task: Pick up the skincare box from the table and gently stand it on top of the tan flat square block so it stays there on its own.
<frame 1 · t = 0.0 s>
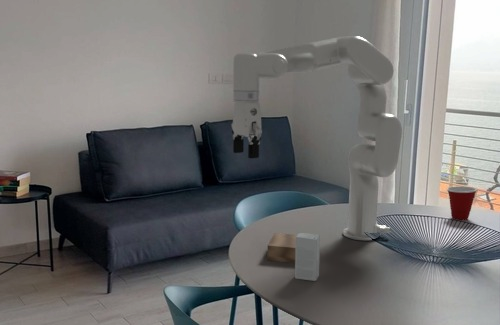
hand: (245, 155, 160), 31 cm above the table, tool pointing down, fingers open, 9 cm apart
tan flat square block: (290, 256, 167), on the table
skincare box: (306, 278, 150), on the table
plastic cup: (459, 218, 207), on the table
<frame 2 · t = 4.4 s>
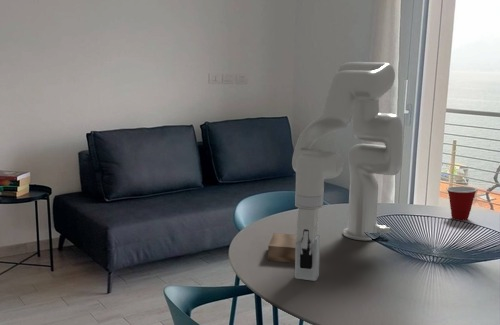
hand: (307, 263, 149), 4 cm above the table, tool pointing down, fingers closed on skincare box, 4 cm apart
skincare box: (306, 277, 150), on the table, touching gripper
everything else where it was.
when the fingers open (9 cm above the table, at t = 11.9 s): skincare box stays where it is, resting on tan flat square block.
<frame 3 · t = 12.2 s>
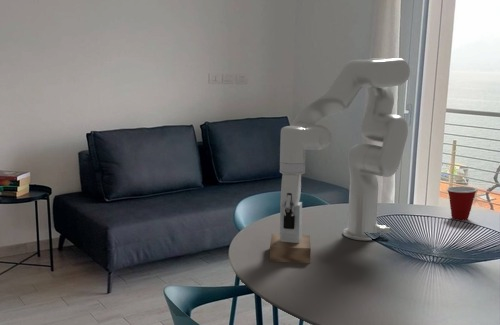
hand: (290, 224, 165), 10 cm above the table, tool pointing down, fingers open, 7 cm apart
tan flat square block: (290, 256, 167), on the table, touching skincare box
skincare box: (290, 241, 166), point 4 cm above the table, touching tan flat square block
everything else where it was.
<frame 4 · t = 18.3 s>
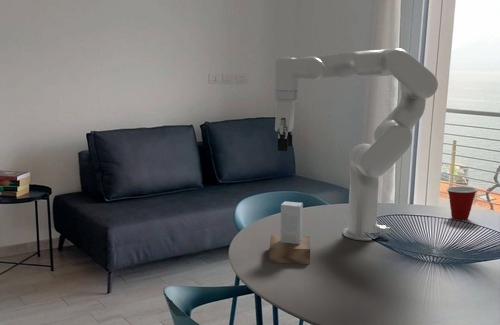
hand: (285, 148, 178), 30 cm above the table, tool pointing down, fingers open, 9 cm apart
at the end: skincare box touching tan flat square block; skincare box tilted 1° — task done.
